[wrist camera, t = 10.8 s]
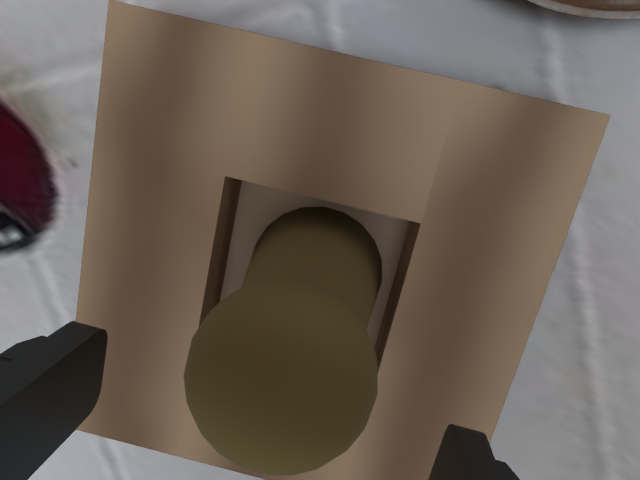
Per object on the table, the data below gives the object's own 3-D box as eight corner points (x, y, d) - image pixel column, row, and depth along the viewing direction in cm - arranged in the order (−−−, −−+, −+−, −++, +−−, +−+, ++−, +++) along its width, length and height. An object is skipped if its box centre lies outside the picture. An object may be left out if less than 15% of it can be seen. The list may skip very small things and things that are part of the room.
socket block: (564, 115, 21) (610, 115, 17) (443, 466, 25) (457, 529, 21) (156, 21, 21) (109, -1, 17) (109, 380, 26) (64, 426, 22)
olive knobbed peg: (406, 298, 22) (443, 463, 12) (292, 352, 23) (230, 548, 13) (342, 181, 21) (318, 244, 10) (226, 244, 22) (99, 359, 12)
